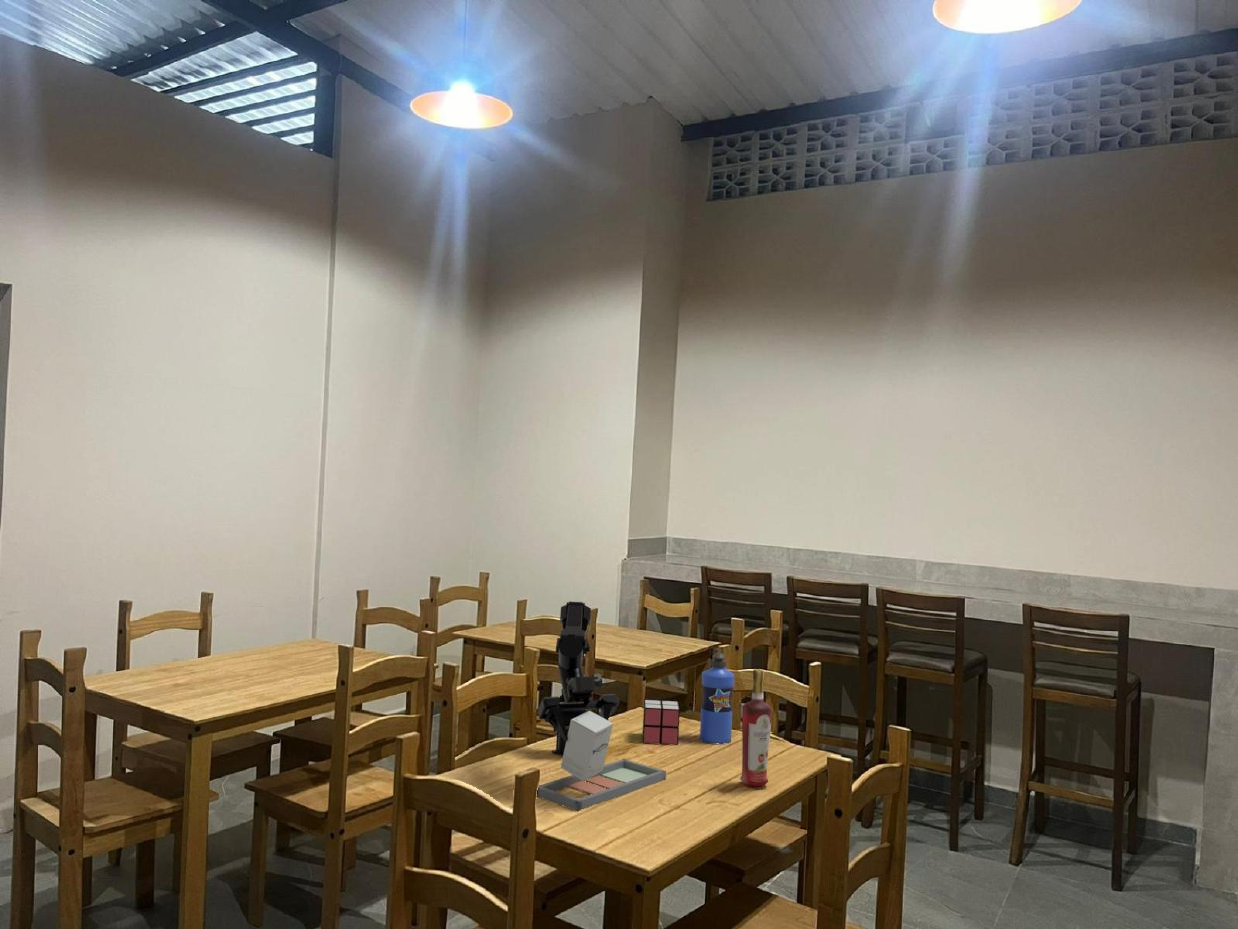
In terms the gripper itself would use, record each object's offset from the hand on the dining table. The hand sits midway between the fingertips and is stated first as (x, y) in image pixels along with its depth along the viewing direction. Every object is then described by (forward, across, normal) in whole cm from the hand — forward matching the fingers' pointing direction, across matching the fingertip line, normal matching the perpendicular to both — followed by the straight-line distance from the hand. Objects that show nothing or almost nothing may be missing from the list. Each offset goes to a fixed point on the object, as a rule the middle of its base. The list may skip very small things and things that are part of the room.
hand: (586, 739), depth 207 cm
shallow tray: (+6, +6, +12) cm, 15 cm away
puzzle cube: (-18, +37, +38) cm, 56 cm away
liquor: (+12, +43, +7) cm, 46 cm away
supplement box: (+4, 0, +7) cm, 8 cm away
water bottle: (-15, +53, +35) cm, 66 cm away
